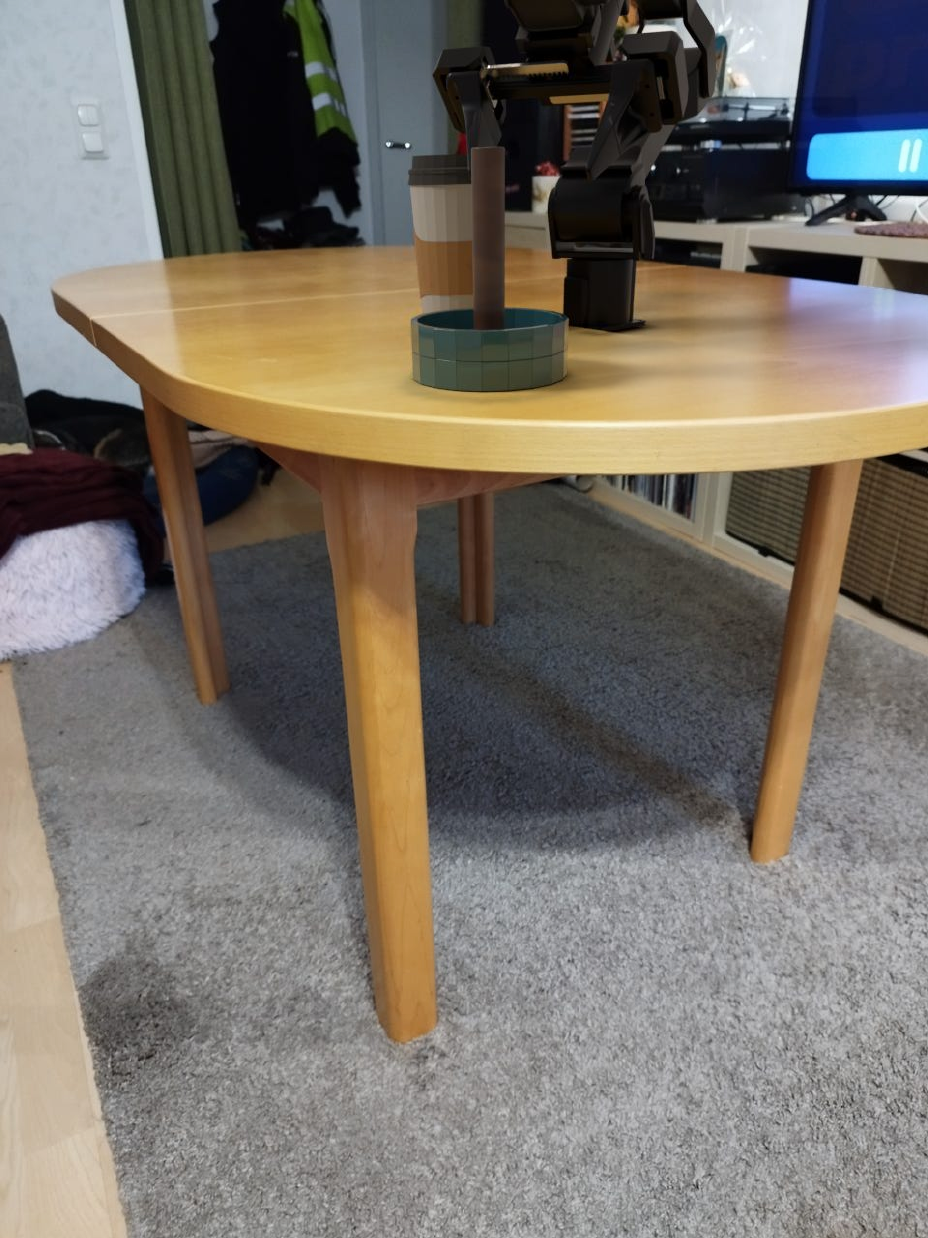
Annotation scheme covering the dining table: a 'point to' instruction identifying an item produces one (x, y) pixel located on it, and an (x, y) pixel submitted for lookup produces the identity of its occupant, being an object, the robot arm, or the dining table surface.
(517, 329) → the bowl
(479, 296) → the stick
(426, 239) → the coffee cup
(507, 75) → the robot arm
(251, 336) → the dining table surface
